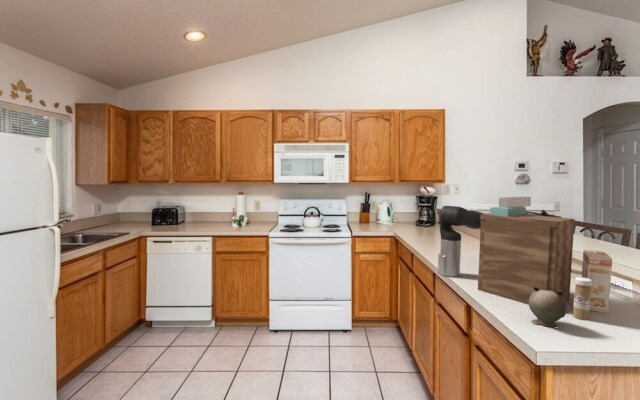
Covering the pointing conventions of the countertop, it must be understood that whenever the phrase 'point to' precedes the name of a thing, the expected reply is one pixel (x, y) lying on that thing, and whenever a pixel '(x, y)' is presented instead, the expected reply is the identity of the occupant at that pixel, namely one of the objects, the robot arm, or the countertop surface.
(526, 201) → the metal bar
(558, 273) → the walnut shelf
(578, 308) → the sprinkles bottle
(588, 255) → the coffeecake box
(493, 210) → the teal base block
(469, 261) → the countertop surface
